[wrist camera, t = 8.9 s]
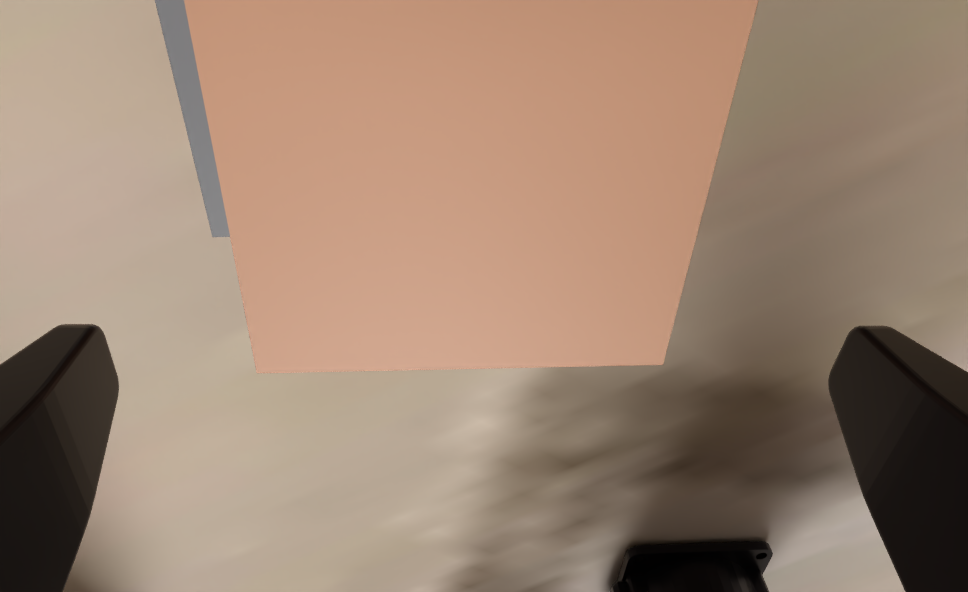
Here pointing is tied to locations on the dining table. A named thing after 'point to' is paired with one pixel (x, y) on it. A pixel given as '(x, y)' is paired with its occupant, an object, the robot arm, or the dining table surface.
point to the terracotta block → (464, 173)
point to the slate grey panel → (193, 108)
